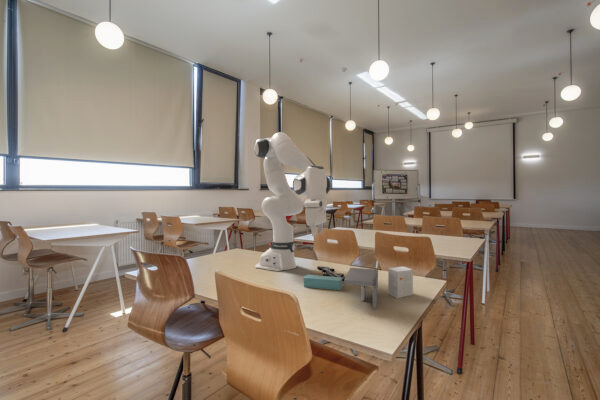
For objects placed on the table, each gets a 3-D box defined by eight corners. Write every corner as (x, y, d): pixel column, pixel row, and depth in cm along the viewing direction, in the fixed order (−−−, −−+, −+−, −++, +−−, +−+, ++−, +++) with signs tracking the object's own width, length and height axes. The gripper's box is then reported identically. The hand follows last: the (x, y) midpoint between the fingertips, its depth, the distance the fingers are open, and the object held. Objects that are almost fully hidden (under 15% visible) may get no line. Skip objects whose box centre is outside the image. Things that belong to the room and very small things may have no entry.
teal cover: (303, 286, 130) (303, 277, 129) (306, 283, 134) (306, 274, 134) (340, 290, 125) (340, 280, 125) (342, 286, 130) (342, 277, 130)
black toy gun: (310, 267, 159) (327, 265, 162) (310, 269, 159) (327, 268, 162) (335, 281, 133) (354, 279, 137) (335, 285, 133) (354, 282, 137)
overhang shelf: (344, 305, 108) (344, 279, 108) (350, 289, 125) (350, 267, 125) (375, 309, 105) (376, 282, 105) (377, 292, 122) (377, 269, 122)
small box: (403, 291, 124) (403, 266, 123) (413, 295, 119) (413, 269, 118) (387, 293, 121) (387, 268, 120) (397, 298, 115) (397, 271, 115)
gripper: (316, 202, 139) (316, 231, 140) (302, 203, 120) (303, 237, 120) (329, 202, 137) (329, 232, 138) (317, 203, 118) (318, 237, 118)
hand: (317, 234), depth 129 cm, fingers open, 8 cm apart
